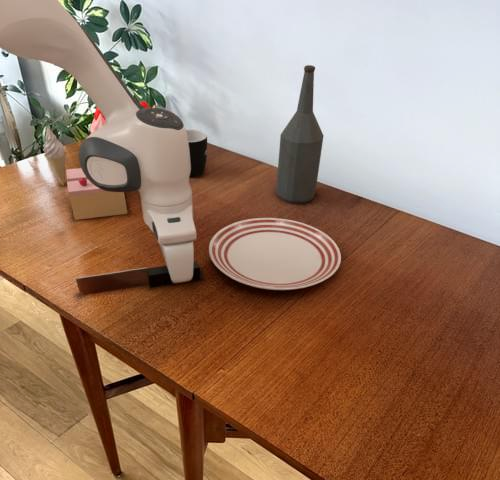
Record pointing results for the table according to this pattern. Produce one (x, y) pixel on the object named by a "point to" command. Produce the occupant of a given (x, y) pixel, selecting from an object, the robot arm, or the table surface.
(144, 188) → the robot arm
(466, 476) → the table surface
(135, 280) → the knife
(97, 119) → the cake
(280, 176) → the bottle
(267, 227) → the dinner plate
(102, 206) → the cake
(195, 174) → the mug
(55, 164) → the ice cream cone
